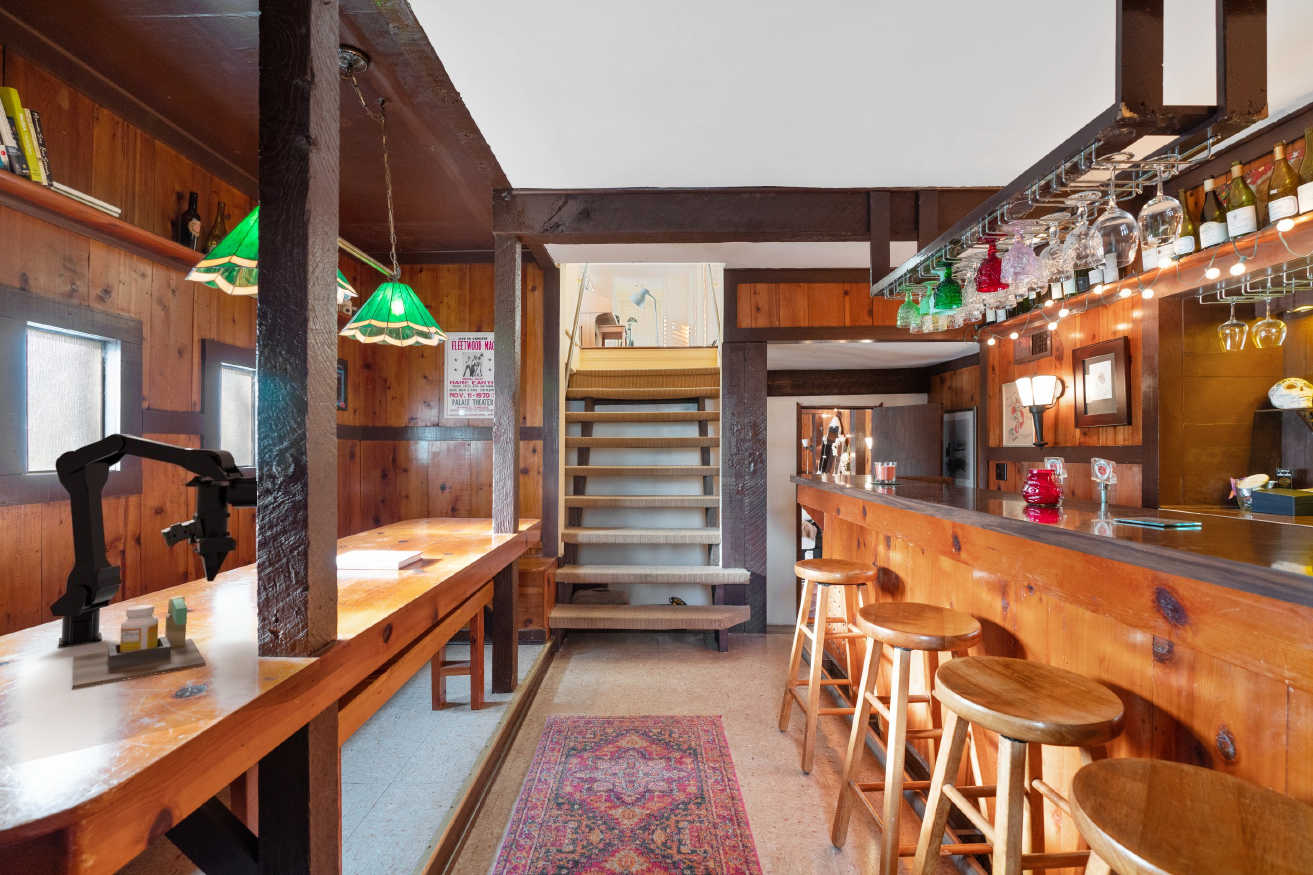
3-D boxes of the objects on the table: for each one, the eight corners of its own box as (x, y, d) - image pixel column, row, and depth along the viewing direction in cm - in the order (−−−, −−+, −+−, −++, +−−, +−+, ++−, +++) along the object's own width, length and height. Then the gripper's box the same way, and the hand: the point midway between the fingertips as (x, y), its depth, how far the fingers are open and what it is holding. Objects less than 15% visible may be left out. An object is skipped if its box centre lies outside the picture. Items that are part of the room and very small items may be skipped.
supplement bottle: (151, 652, 120) (153, 602, 120) (161, 658, 117) (163, 606, 117) (115, 660, 115) (117, 607, 116) (124, 665, 112) (126, 611, 113)
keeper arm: (167, 612, 126) (168, 597, 126) (183, 610, 127) (184, 595, 127) (172, 625, 116) (173, 609, 116) (189, 623, 118) (190, 607, 118)
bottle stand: (73, 659, 117) (74, 624, 117) (191, 641, 129) (192, 609, 130) (72, 689, 103) (73, 648, 103) (205, 665, 115) (206, 629, 115)
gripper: (160, 507, 135) (158, 579, 134) (169, 513, 121) (167, 593, 120) (222, 504, 142) (220, 573, 142) (237, 510, 128) (235, 585, 128)
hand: (210, 581), depth 133 cm, fingers closed
